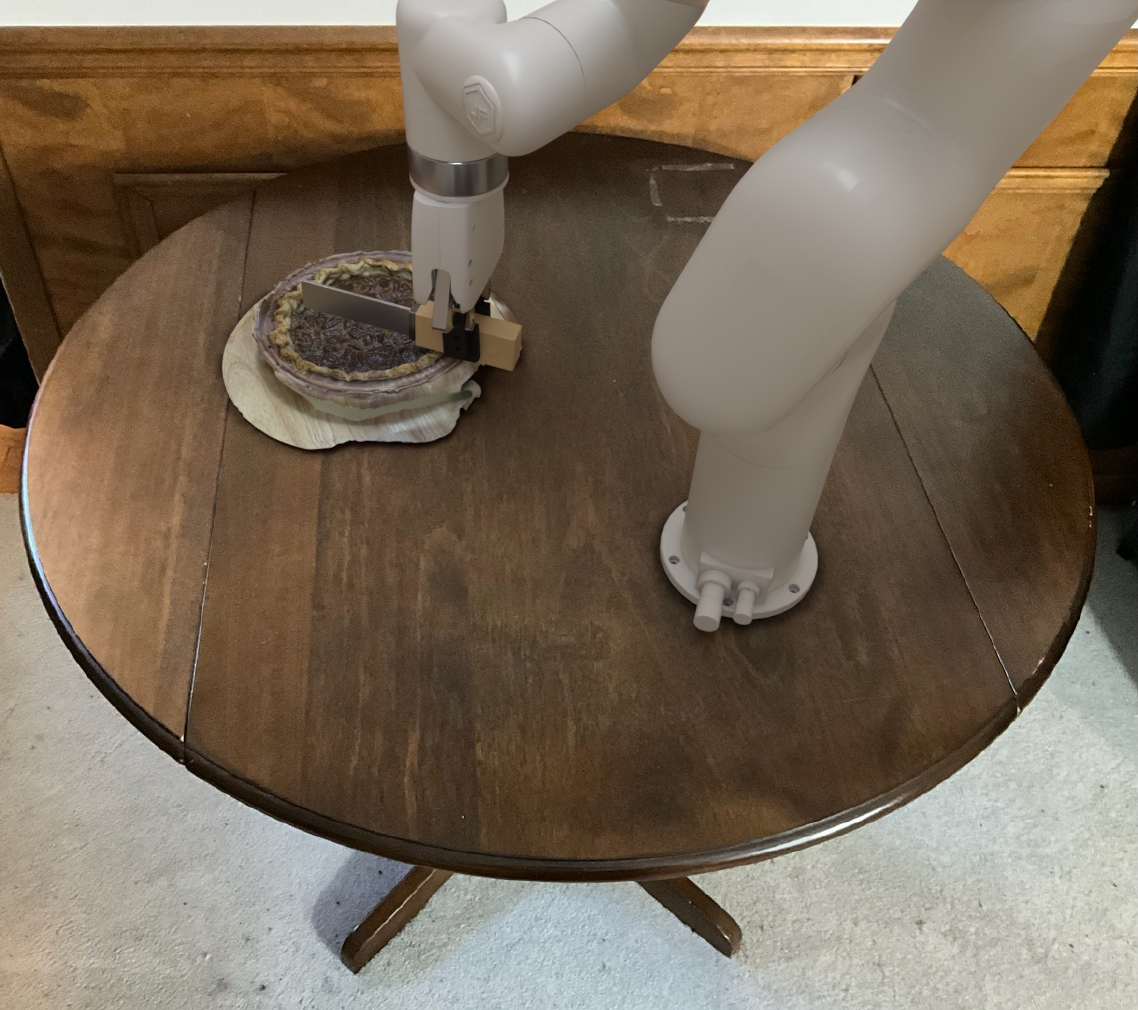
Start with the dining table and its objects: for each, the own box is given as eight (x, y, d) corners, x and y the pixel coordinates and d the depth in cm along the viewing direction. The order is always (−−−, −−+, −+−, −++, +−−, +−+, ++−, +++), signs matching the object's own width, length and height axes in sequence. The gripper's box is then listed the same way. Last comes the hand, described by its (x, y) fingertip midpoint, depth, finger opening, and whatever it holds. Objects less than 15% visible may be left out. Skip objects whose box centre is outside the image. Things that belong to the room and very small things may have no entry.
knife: (519, 356, 92) (522, 325, 90) (512, 372, 91) (514, 340, 88) (309, 298, 94) (306, 266, 92) (299, 313, 93) (295, 281, 90)
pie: (197, 454, 89) (183, 412, 86) (250, 261, 107) (240, 220, 103) (523, 454, 91) (523, 413, 87) (522, 264, 109) (522, 223, 105)
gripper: (447, 99, 84) (457, 285, 98) (370, 207, 73) (394, 397, 87) (537, 115, 82) (534, 301, 96) (471, 227, 72) (478, 416, 86)
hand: (467, 345), depth 92 cm, fingers closed on knife, 2 cm apart
